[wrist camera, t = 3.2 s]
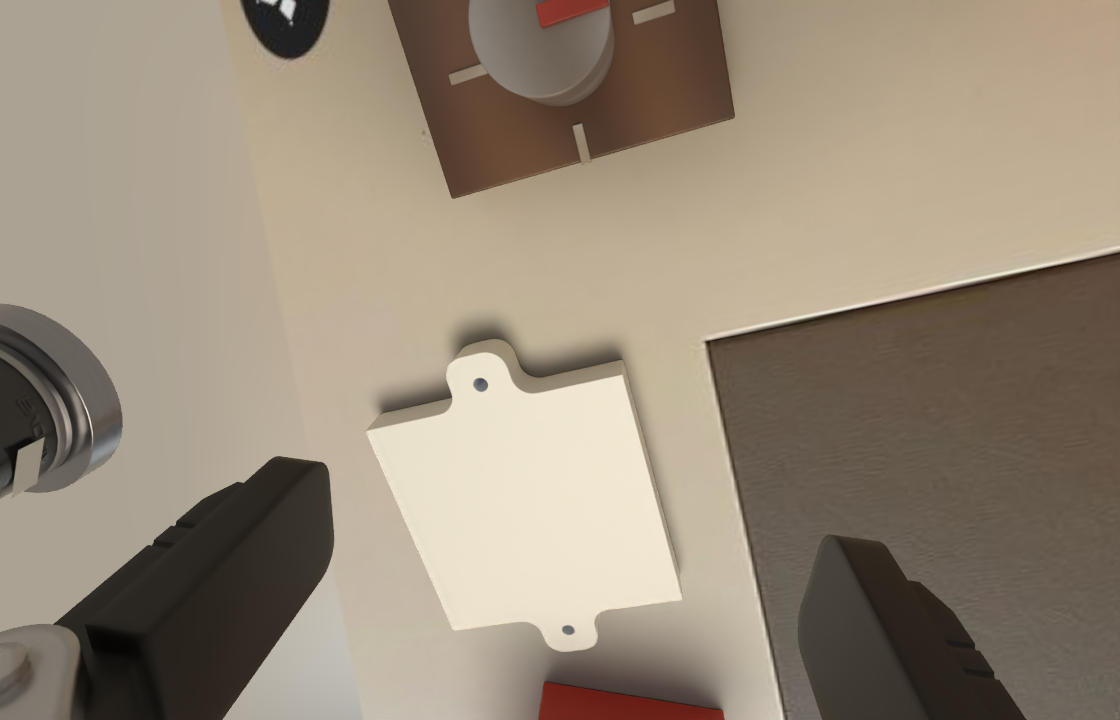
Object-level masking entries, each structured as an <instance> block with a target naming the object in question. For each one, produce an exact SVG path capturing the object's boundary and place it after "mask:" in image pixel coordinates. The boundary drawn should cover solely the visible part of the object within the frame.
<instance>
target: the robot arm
mask: <svg viewBox="0 0 1120 720" xmlns="http://www.w3.org/2000/svg"><path fill="white" fill-rule="evenodd" d="M71 443H72V427H71V422H70V418H69V415H68V412H67V409H66V407H65V404H64V402H63V400H62V398H61V397H60V395H59V393H58V392H57V390H56V389H55V387H54V386H53V385H52V383H51V382H50V381H49V380H48V378H47V377H46V376H45V375H44V374H43V373H42V372H41V371H40V370H39V369H38V368H37V367H36V366H35V365H34V364H33V363H32V362H30V361H29V360H28V359H27V358H25V357H24V356H22V355H21V354H20V353H18V352H16V351H15V350H13V349H11V348H9V347H8V346H6V345H4V344H1V343H0V499H1V498H2V497H4V496H6V495H8V494H9V493H11V492H12V497H14V496H16V495H18V494H19V493H21V492H23V491H25V490H26V489H28V488H30V487H32V486H33V485H35V484H37V481H38V479H39V478H41V477H43V476H45V475H46V474H48V473H50V472H52V471H53V470H55V469H56V468H58V467H59V466H60V465H61V464H62V463H63V462H64V461H65V459H66V458H67V456H68V454H69V451H70V448H71ZM333 547H334V530H333V517H332V504H331V492H330V479H329V471H328V468H327V466H326V465H325V464H324V463H323V462H317V461H309V460H302V459H295V458H288V457H281V456H277V457H274V458H272V459H271V460H269V461H268V462H267V463H266V464H265V465H264V466H263V467H261V468H260V469H259V470H258V471H257V472H256V473H255V474H253V475H252V476H251V477H250V478H249V479H248V480H247V481H246V482H244V483H241V482H236V483H234V484H232V485H230V486H228V487H226V488H224V489H222V490H220V491H218V492H216V493H214V494H212V495H210V496H208V497H206V498H204V499H203V500H201V501H200V502H199V503H198V504H196V505H195V506H194V507H193V508H192V509H190V510H189V511H188V512H187V513H186V514H185V515H183V516H182V517H181V518H180V519H178V520H177V522H176V525H175V526H170V527H169V528H168V529H167V530H165V531H164V532H163V533H162V534H161V535H159V536H158V537H157V538H156V539H155V540H154V543H153V545H152V546H150V545H148V546H146V547H145V548H144V549H143V550H142V551H140V552H139V553H138V554H137V555H135V556H134V557H133V558H132V559H131V560H130V561H128V562H127V563H126V564H125V565H124V566H122V567H121V568H120V569H119V570H118V571H117V572H115V573H114V574H113V575H112V576H110V577H109V578H108V579H107V580H106V581H104V582H103V583H102V584H101V585H100V586H99V587H97V588H96V589H95V590H94V591H92V593H90V594H89V595H88V596H87V597H85V598H84V599H83V600H82V601H81V602H79V603H78V604H77V605H76V606H75V607H73V608H72V609H71V610H70V611H69V612H67V614H65V615H64V616H63V617H61V618H60V619H59V620H58V621H57V622H55V623H54V624H53V625H51V624H36V625H28V626H22V627H17V628H13V629H9V630H6V631H3V632H0V720H222V719H223V718H224V717H225V715H226V713H227V712H228V711H229V709H230V708H231V707H232V705H233V704H234V702H235V701H236V700H237V698H238V697H239V695H240V693H241V692H242V691H243V690H244V688H245V687H246V685H247V684H248V683H249V681H250V680H251V678H252V677H253V675H254V674H255V673H256V671H257V670H258V668H259V667H260V666H261V664H262V663H263V661H264V660H265V658H266V657H267V656H268V654H269V653H270V651H271V650H272V649H273V647H274V646H275V644H276V643H277V641H278V640H279V639H280V637H281V636H282V634H283V633H284V631H285V630H286V629H287V627H288V626H289V624H290V623H291V622H292V620H293V619H294V617H295V616H296V614H297V613H298V612H299V610H300V609H301V608H302V606H303V605H304V603H305V602H306V600H307V599H308V597H309V596H310V595H311V593H312V592H313V591H314V589H315V588H316V586H317V585H318V583H319V582H320V581H321V579H322V578H323V576H324V574H325V572H326V570H327V568H328V566H329V563H330V560H331V557H332V552H333ZM798 641H799V648H800V652H801V656H802V659H803V662H804V665H805V668H806V671H807V674H808V677H809V680H810V683H811V686H812V690H813V693H814V696H815V699H816V702H817V705H818V708H819V711H820V714H821V717H822V720H1026V718H1025V717H1024V715H1023V714H1022V713H1021V711H1020V710H1019V708H1018V707H1017V705H1016V704H1015V702H1014V701H1013V699H1012V698H1011V696H1010V695H1009V693H1008V692H1007V690H1006V689H1005V687H1004V686H1003V685H1002V683H1001V682H1000V680H996V679H995V678H994V671H993V670H992V668H991V667H990V665H989V664H988V662H987V661H986V659H985V658H984V657H983V655H982V654H981V652H980V651H977V650H975V643H974V642H973V640H972V639H971V637H970V636H969V634H968V633H967V632H966V630H965V629H964V627H963V626H962V624H961V623H960V621H959V620H958V618H957V617H956V615H955V614H954V612H953V611H952V610H951V609H950V608H948V607H947V606H946V605H945V604H944V603H943V602H942V601H940V600H939V599H938V598H937V597H936V596H935V595H934V594H933V593H931V592H930V591H929V590H928V589H927V588H926V587H925V586H923V585H922V584H921V583H920V582H916V581H909V580H907V579H906V577H905V575H904V574H903V572H902V571H901V569H900V567H899V566H898V564H897V563H896V561H895V559H894V558H893V556H892V555H891V553H890V551H889V550H888V548H887V547H886V546H885V545H884V544H883V543H881V542H879V541H872V540H865V539H857V538H850V537H843V536H836V535H827V536H825V537H824V538H823V540H822V542H821V544H820V546H819V549H818V553H817V556H816V559H815V562H814V566H813V569H812V572H811V575H810V578H809V582H808V585H807V588H806V591H805V595H804V598H803V601H802V604H801V607H800V611H799V617H798Z"/></svg>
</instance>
